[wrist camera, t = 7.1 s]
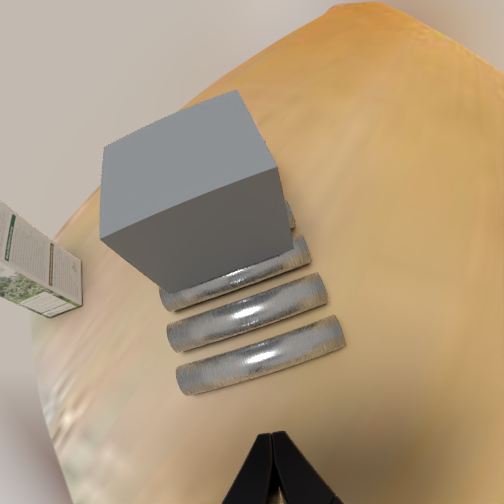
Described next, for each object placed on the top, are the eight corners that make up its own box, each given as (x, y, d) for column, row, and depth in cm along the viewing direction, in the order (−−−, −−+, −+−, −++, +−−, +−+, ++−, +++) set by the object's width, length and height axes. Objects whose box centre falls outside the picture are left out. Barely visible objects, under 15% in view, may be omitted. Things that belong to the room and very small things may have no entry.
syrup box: (82, 259, 30) (-12, 184, 17) (83, 308, 27) (-29, 243, 15) (49, 275, 30) (-41, 213, 18) (49, 321, 28) (-56, 268, 15)
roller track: (344, 348, 21) (346, 343, 19) (193, 395, 22) (180, 395, 19) (287, 210, 27) (283, 194, 25) (164, 256, 28) (152, 244, 26)
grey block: (294, 248, 22) (277, 166, 14) (169, 294, 23) (99, 239, 15) (261, 172, 26) (236, 89, 18) (157, 213, 27) (104, 147, 19)
